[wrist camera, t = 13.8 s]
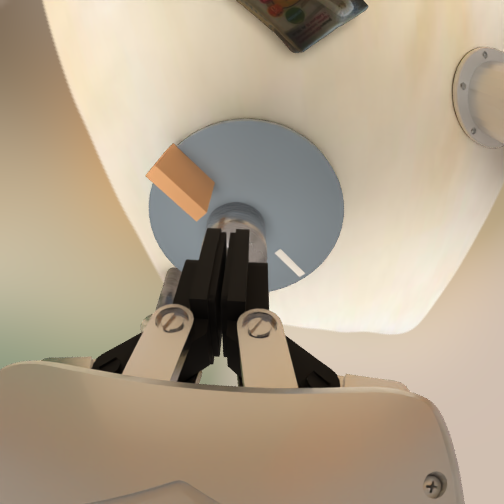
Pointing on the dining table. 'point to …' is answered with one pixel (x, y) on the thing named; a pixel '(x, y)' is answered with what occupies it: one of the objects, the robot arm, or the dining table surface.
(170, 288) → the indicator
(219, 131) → the turntable
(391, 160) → the dining table surface
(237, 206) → the cover
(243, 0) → the beverage carton
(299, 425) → the robot arm
